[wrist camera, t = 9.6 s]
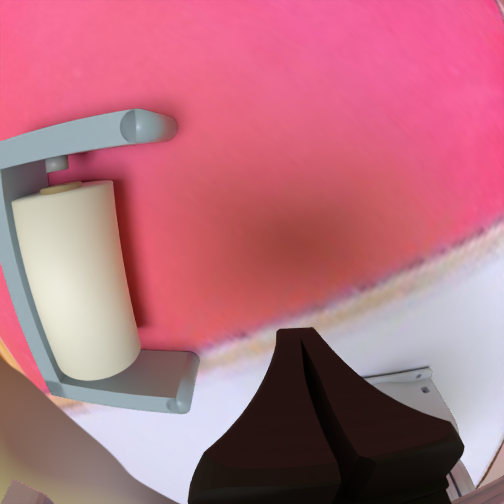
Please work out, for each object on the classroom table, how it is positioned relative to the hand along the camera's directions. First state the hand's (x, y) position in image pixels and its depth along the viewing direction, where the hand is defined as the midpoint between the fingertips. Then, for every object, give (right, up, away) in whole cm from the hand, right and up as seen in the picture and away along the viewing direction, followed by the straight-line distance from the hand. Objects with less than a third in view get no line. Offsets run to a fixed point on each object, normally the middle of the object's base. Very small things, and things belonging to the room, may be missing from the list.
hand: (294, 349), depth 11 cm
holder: (-13, +3, +9) cm, 16 cm away
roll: (-12, +2, +6) cm, 14 cm away
